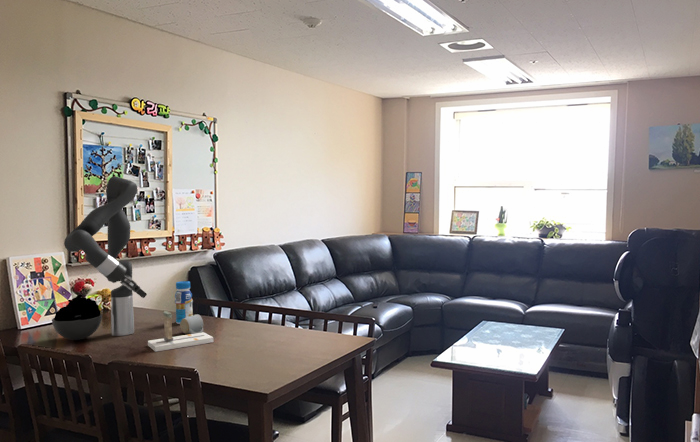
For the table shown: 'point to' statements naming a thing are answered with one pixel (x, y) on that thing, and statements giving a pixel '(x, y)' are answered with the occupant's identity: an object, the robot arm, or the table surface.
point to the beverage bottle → (183, 301)
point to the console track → (180, 341)
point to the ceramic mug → (192, 324)
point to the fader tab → (168, 326)
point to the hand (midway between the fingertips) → (144, 295)
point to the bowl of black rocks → (77, 318)
